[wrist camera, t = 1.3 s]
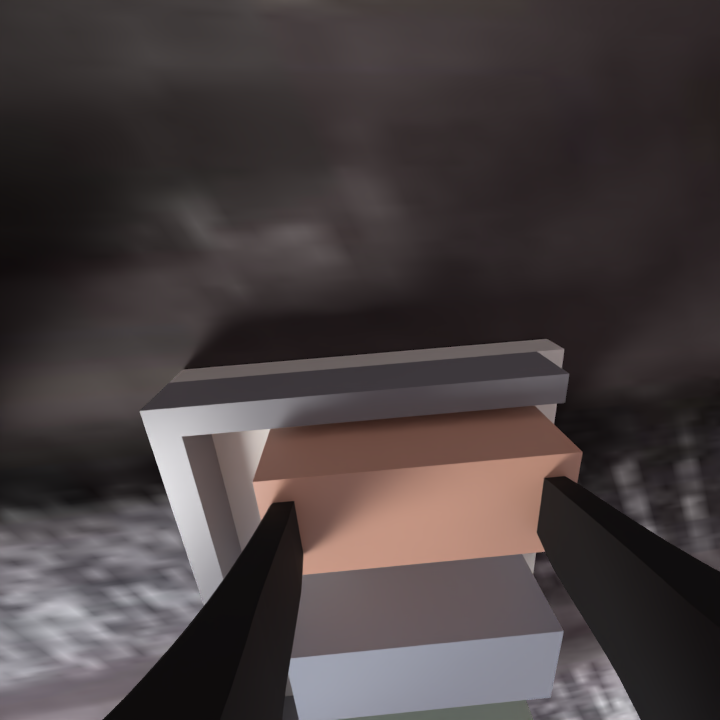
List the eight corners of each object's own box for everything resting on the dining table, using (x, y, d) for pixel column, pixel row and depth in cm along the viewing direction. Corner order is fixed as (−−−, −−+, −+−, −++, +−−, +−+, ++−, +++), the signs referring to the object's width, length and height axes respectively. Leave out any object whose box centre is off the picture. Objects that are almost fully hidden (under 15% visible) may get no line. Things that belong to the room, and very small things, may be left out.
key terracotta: (520, 484, 14) (565, 549, 11) (287, 505, 14) (273, 577, 11) (530, 401, 13) (582, 451, 10) (272, 423, 13) (252, 481, 10)
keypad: (508, 659, 21) (537, 736, 18) (267, 683, 21) (254, 765, 18) (546, 338, 14) (606, 373, 11) (182, 369, 14) (136, 414, 11)
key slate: (513, 613, 16) (550, 697, 13) (307, 633, 16) (299, 723, 13) (521, 552, 15) (563, 631, 12) (295, 573, 14) (284, 658, 12)
